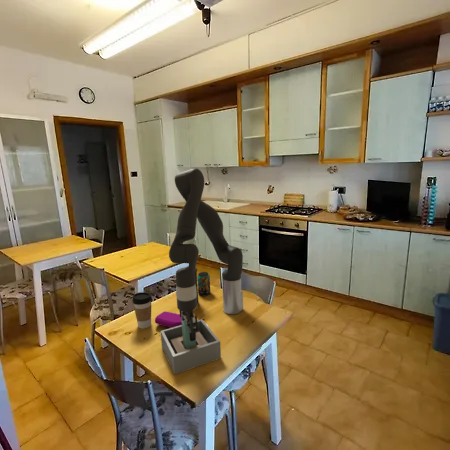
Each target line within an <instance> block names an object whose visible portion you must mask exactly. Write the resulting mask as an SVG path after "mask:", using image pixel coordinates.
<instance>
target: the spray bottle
mask: <svg viewBox="0 0 450 450" xmlns="http://www.w3.org/2000/svg"><path fill="white" fill-rule="evenodd" d="M154 323H155V324H156V325H160V326H164V327H167V328H173V327H176V326H180V325H182V320H181V317H180V313H176V312H171V311H163V312H161V313H159V314H158V315H157V316H155V319H154ZM206 325H207V326H208V327H209V324H207V323H206ZM209 328H210V327H209Z"/></svg>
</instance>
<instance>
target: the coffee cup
mask: <svg viewBox="0 0 450 450" xmlns="http://www.w3.org/2000/svg"><path fill="white" fill-rule="evenodd" d="M132 304H133V309H134V313H135V318H136V322H137V327H138V328H139V329H142V330H143V329H147V328H149V327H151V325H152V295H151V293H149V292H145V291H143V292H136V293H134V294H133V295H132Z"/></svg>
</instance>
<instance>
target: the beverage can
mask: <svg viewBox="0 0 450 450" xmlns="http://www.w3.org/2000/svg"><path fill="white" fill-rule="evenodd" d="M197 287H198V295H200V296H202V295H206V296H209V295H210V294H211V276H210V275H209V272H207V271H201V272H199V273H197Z"/></svg>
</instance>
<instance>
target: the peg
mask: <svg viewBox="0 0 450 450" xmlns="http://www.w3.org/2000/svg"><path fill="white" fill-rule="evenodd" d="M188 323H189V324H190V322H188ZM193 328H194V327H193ZM182 334H183V346H184V348H185V349H187V348H190V347H193V346H196V340H194V341H190V334H189V328H188V327H187V326H186V321H185V320H183V321H182Z"/></svg>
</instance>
